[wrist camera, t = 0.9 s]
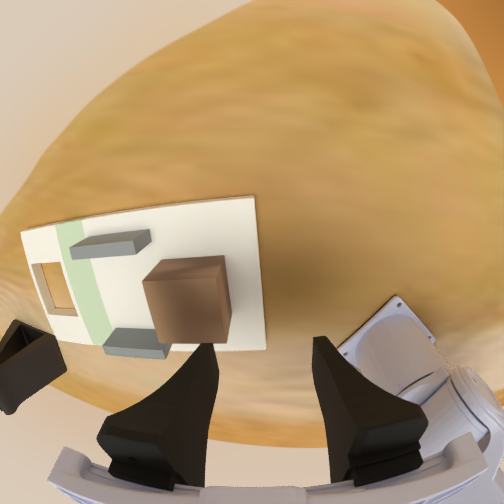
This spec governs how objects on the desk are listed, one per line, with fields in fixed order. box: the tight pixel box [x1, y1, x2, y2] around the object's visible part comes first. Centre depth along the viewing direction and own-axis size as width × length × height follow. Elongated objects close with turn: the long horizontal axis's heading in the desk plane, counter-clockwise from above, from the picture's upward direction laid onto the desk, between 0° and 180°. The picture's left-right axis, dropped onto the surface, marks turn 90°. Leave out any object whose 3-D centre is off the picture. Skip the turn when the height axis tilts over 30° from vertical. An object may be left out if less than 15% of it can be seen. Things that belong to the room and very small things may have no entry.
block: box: [142, 255, 232, 344], centre depth 19 cm, size 5×5×4 cm
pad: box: [55, 216, 113, 346], centre depth 22 cm, size 4×13×2 cm, turn 5°
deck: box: [20, 195, 266, 360], centre depth 21 cm, size 24×13×4 cm, turn 95°
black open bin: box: [0, 319, 67, 415], centre depth 21 cm, size 9×6×12 cm, turn 83°
